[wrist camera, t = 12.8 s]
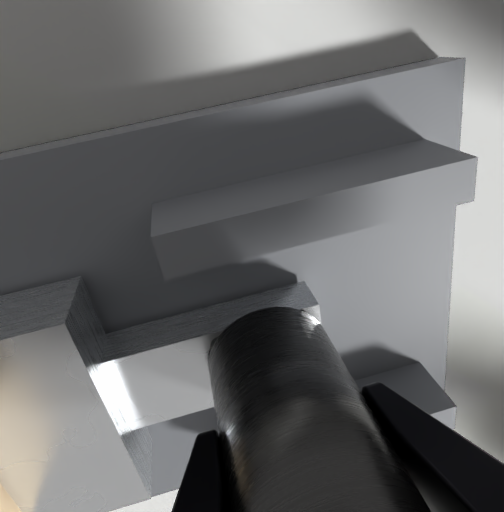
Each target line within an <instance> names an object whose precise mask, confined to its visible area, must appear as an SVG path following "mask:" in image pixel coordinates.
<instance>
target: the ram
mask: <svg viewBox="0 0 504 512" xmlns="http://www.w3.org/2000/svg"><path fill="white" fill-rule="evenodd" d="M212 407H215V414H216V420H217V427H218V433H219V440H220V446H221V453H222V459H223V466H224V472H225V479H226V485H227V492H228V498H229V505H230V511H231V512H431V510H430V509H429V507H428V505H427V503H426V502H425V500H424V498H423V497H422V495H421V493H420V492H419V490H418V488H417V486H416V485H415V483H414V481H413V480H412V478H411V476H410V475H409V473H408V471H407V469H406V468H405V466H404V464H403V463H402V461H401V459H400V457H399V456H398V454H397V452H396V451H395V449H394V447H393V446H392V444H391V442H390V440H389V439H388V437H387V435H386V434H385V432H384V430H383V429H382V427H381V425H380V423H379V422H378V420H377V418H376V417H375V415H374V413H373V411H372V410H371V408H370V406H369V405H368V403H367V401H366V400H365V398H364V396H363V394H362V393H361V391H360V389H359V388H358V386H357V384H356V383H355V381H354V379H353V377H352V376H351V374H350V372H349V371H348V369H347V367H346V365H345V364H344V362H343V360H342V359H341V357H340V355H339V354H338V352H337V350H336V348H335V347H334V345H333V343H332V342H331V340H330V338H329V336H328V335H327V333H326V331H325V330H324V328H323V326H322V324H321V315H320V307H319V303H318V302H317V300H316V299H315V297H314V295H313V294H312V292H311V291H310V289H309V287H308V286H307V284H306V283H305V281H303V282H299V283H295V284H291V285H287V286H284V287H280V288H276V289H272V290H268V291H265V292H261V293H257V294H253V295H249V296H246V297H242V298H238V299H234V300H231V301H227V302H223V303H219V304H215V305H212V306H208V307H204V308H200V309H196V310H193V311H189V312H185V313H181V314H177V315H174V316H170V317H166V318H162V319H158V320H155V321H151V322H147V323H143V324H139V325H136V326H132V327H128V328H124V329H120V330H117V331H113V332H109V333H106V332H105V330H104V327H103V325H102V323H101V321H100V318H99V316H98V314H97V311H96V309H95V307H94V305H93V302H92V300H91V298H90V295H89V293H88V291H87V289H86V286H85V284H84V282H83V279H82V277H81V276H79V277H75V278H71V279H67V280H63V281H59V282H55V283H51V284H47V285H43V286H39V287H35V288H31V289H27V290H23V291H19V292H15V293H11V294H7V295H3V296H0V484H1V485H2V486H3V487H4V489H5V490H6V491H7V493H8V494H9V495H10V497H11V498H12V499H13V501H14V502H15V503H16V505H17V506H18V507H19V508H20V510H21V511H22V512H109V511H112V510H116V509H119V508H122V507H125V506H129V505H132V504H135V503H139V502H142V501H145V500H148V499H151V462H152V437H151V434H150V432H149V430H148V428H147V426H149V425H152V424H156V423H159V422H163V421H166V420H170V419H173V418H177V417H180V416H184V415H187V414H191V413H194V412H198V411H201V410H205V409H208V408H212Z"/></svg>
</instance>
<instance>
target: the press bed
mask: <svg viewBox="0 0 504 512" xmlns="http://www.w3.org/2000/svg"><path fill="white" fill-rule="evenodd" d="M464 72H465V58H449V57H439V58H434V59H430V60H425V61H421V62H416V63H411V64H407V65H402V66H398V67H393V68H388V69H384V70H379V71H375V72H370V73H365V74H361V75H356V76H352V77H347V78H343V79H338V80H333V81H329V82H324V83H320V84H315V85H310V86H306V87H301V88H297V89H292V90H287V91H283V92H278V93H274V94H269V95H265V96H260V97H255V98H251V99H246V100H242V101H237V102H232V103H228V104H223V105H219V106H214V107H209V108H205V109H200V110H196V111H191V112H187V113H182V114H177V115H173V116H168V117H164V118H159V119H154V120H150V121H145V122H141V123H136V124H131V125H127V126H122V127H118V128H113V129H108V130H104V131H99V132H95V133H90V134H86V135H81V136H76V137H72V138H67V139H63V140H58V141H53V142H49V143H44V144H40V145H35V146H30V147H26V148H21V149H17V150H12V151H8V152H3V153H0V296H3V295H7V294H11V293H15V292H19V291H23V290H27V289H31V288H35V287H39V286H43V285H47V284H51V283H55V282H59V281H63V280H67V279H71V278H75V277H79V276H81V277H82V279H83V282H84V284H85V286H86V289H87V291H88V293H89V295H90V298H91V300H92V302H93V305H94V307H95V309H96V311H97V314H98V316H99V318H100V321H101V323H102V325H103V327H104V330H105V332H106V333H109V332H113V331H117V330H120V329H124V328H128V327H132V326H136V325H139V324H143V323H147V322H151V321H155V320H158V319H162V318H166V317H170V316H174V315H177V314H181V313H185V312H189V311H193V310H196V309H200V308H204V307H208V306H212V305H215V304H219V303H223V302H227V301H231V300H234V299H238V298H242V297H246V296H249V295H253V294H257V293H261V292H265V291H268V290H272V289H276V288H280V287H284V286H287V285H291V284H295V283H299V282H303V281H305V283H306V284H307V286H308V287H309V289H310V291H311V292H312V294H313V295H314V297H315V299H316V300H317V302H318V303H319V307H320V315H321V324H322V326H323V328H324V330H325V331H326V333H327V335H328V336H329V338H330V340H331V342H332V343H333V345H334V347H335V348H336V350H337V352H338V354H339V355H340V357H341V359H342V360H343V362H344V364H345V365H346V367H347V369H348V371H349V372H350V374H351V376H352V377H353V379H354V381H355V383H356V384H357V386H358V388H359V389H360V391H361V393H362V387H363V386H364V385H367V384H371V383H374V382H381V383H383V384H385V385H386V386H388V387H389V388H391V389H392V390H394V391H395V392H397V393H398V394H400V395H401V396H403V397H404V398H406V399H407V400H409V401H410V402H412V403H413V404H415V405H416V406H418V407H419V408H421V409H422V410H424V411H425V412H427V413H428V414H430V415H431V416H433V417H434V418H436V419H437V420H439V421H440V422H442V423H443V424H445V425H446V426H448V427H449V428H451V429H455V420H456V408H457V406H456V405H455V404H454V403H453V401H452V400H451V399H450V398H449V397H448V395H447V394H446V393H445V392H444V390H445V375H446V359H447V343H448V327H449V311H450V295H451V279H452V263H453V247H454V231H455V215H456V205H460V204H464V203H468V202H472V201H474V195H475V183H476V172H477V160H478V157H476V156H473V155H470V154H467V153H464V152H461V151H460V136H461V120H462V104H463V88H464ZM147 428H148V430H149V432H150V434H151V437H152V462H151V497H153V496H156V495H160V494H163V493H166V492H169V491H173V490H176V489H179V487H180V484H181V481H182V478H183V475H184V472H185V469H186V466H187V463H188V460H189V457H190V454H191V451H192V448H193V445H194V442H195V439H196V437H197V435H198V434H199V433H201V432H205V431H208V430H212V429H215V430H216V431H217V432H218V427H217V420H216V414H215V407H212V408H208V409H205V410H201V411H198V412H194V413H191V414H187V415H184V416H180V417H177V418H173V419H170V420H166V421H163V422H159V423H156V424H152V425H149V426H147ZM218 435H219V433H218Z"/></svg>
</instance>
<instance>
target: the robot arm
mask: <svg viewBox="0 0 504 512" xmlns="http://www.w3.org/2000/svg"><path fill="white" fill-rule="evenodd" d="M362 394H363V396H364V398H365V400H366V401H367V403H368V405H369V406H370V408H371V410H372V411H373V413H374V415H375V417H376V418H377V420H378V422H379V423H380V425H381V427H382V429H383V430H384V432H385V434H386V435H387V437H388V439H389V440H390V442H391V444H392V446H393V447H394V449H395V451H396V452H397V454H398V456H399V457H400V459H401V461H402V463H403V464H404V466H405V468H406V469H407V471H408V473H409V475H410V476H411V478H412V480H413V481H414V483H415V485H416V486H417V488H418V490H419V492H420V493H421V495H422V497H423V498H424V500H425V502H426V503H427V505H428V507H429V509H430V510H431V512H504V464H503V463H502V462H500V461H499V460H497V459H496V458H494V457H493V456H491V455H490V454H488V453H487V452H485V451H484V450H482V449H481V448H479V447H478V446H476V445H475V444H473V443H472V442H470V441H469V440H467V439H466V438H464V437H463V436H461V435H460V434H458V433H457V432H455V431H454V430H452V429H451V428H449V427H448V426H446V425H445V424H443V423H442V422H440V421H439V420H437V419H436V418H434V417H433V416H431V415H430V414H428V413H427V412H425V411H424V410H422V409H421V408H419V407H418V406H416V405H415V404H413V403H412V402H410V401H409V400H407V399H406V398H404V397H403V396H401V395H400V394H398V393H397V392H395V391H394V390H392V389H391V388H389V387H388V386H386V385H385V384H383V383H381V382H374V383H371V384H367V385H364V386H363V387H362ZM172 512H231V511H230V505H229V498H228V492H227V485H226V479H225V472H224V466H223V459H222V453H221V446H220V440H219V435H218V432H217V431H216V430H215V429H212V430H208V431H205V432H201V433H199V434H198V435H197V437H196V439H195V442H194V445H193V448H192V451H191V454H190V457H189V460H188V463H187V466H186V469H185V472H184V475H183V478H182V481H181V484H180V487H179V491H178V494H177V497H176V500H175V503H174V506H173V509H172Z"/></svg>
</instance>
